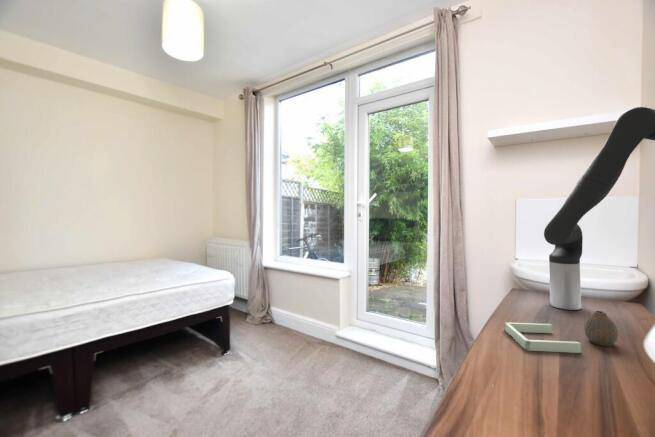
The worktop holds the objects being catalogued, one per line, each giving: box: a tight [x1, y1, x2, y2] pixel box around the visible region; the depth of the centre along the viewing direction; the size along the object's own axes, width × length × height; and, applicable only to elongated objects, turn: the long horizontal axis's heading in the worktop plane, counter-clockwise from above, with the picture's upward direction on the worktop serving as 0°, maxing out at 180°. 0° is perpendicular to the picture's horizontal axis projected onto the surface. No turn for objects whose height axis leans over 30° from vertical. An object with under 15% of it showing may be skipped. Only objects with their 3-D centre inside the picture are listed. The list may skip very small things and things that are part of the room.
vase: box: [583, 310, 619, 347], centre depth 81 cm, size 7×7×9 cm
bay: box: [503, 321, 582, 354], centre depth 84 cm, size 14×13×2 cm
